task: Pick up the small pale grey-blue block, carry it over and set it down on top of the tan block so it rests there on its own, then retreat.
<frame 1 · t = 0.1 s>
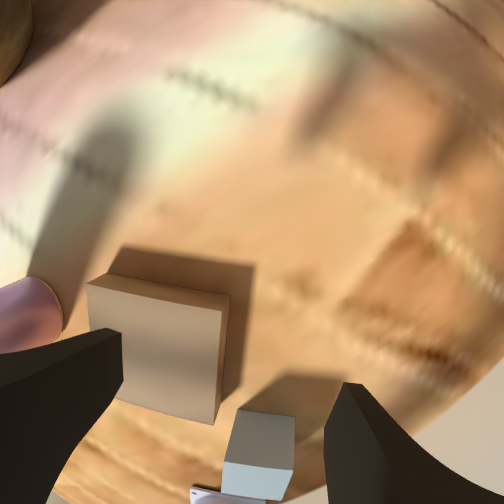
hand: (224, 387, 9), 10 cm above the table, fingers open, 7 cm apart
tan block: (165, 340, 21), on the table
pale grey-blue block: (262, 431, 21), on the table
beverage can: (44, 306, 21), on the table
bowl: (4, 57, 17), on the table
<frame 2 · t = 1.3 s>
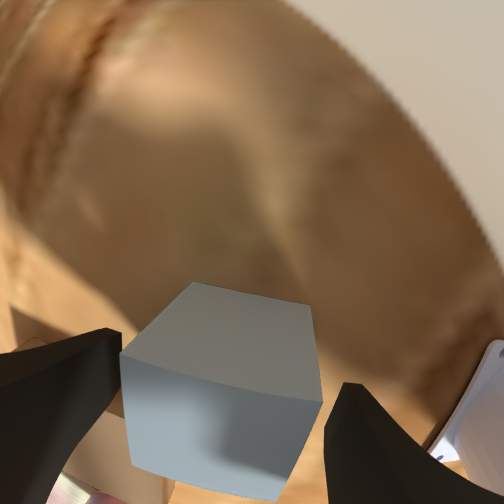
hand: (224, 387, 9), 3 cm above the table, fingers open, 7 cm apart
tan block: (106, 419, 14), on the table
pale grey-blue block: (241, 344, 11), on the table
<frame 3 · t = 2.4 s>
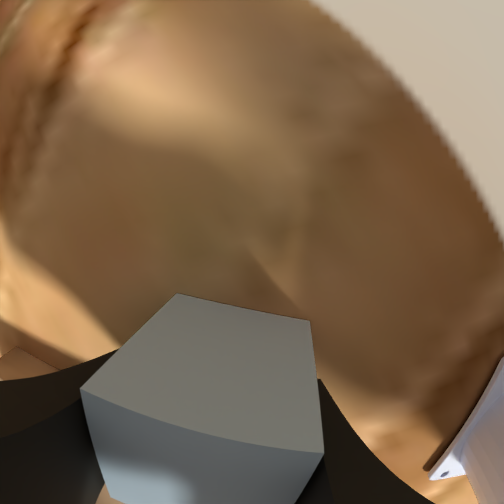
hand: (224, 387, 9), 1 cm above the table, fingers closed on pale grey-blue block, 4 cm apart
tan block: (93, 433, 13), on the table
pale grey-blue block: (232, 363, 10), on the table, touching gripper
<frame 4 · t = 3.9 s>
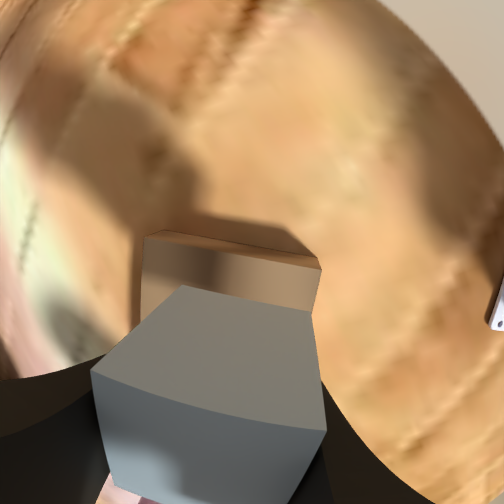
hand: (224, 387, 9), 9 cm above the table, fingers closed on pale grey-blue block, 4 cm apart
tan block: (228, 313, 18), on the table
pale grey-blue block: (234, 354, 10), point 7 cm above the table, touching gripper
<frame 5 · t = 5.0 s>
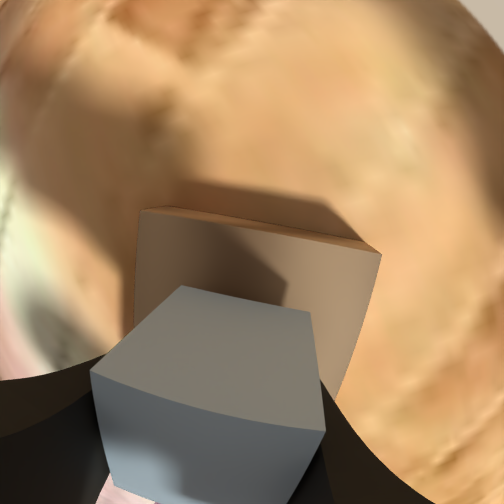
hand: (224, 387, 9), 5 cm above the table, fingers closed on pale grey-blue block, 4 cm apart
tan block: (248, 314, 14), on the table
pale grey-blue block: (234, 354, 10), point 4 cm above the table, touching gripper
when the fingers open (5 cm above the table, at t = 5.6 s): pale grey-blue block drops 1 cm, resting on tan block.
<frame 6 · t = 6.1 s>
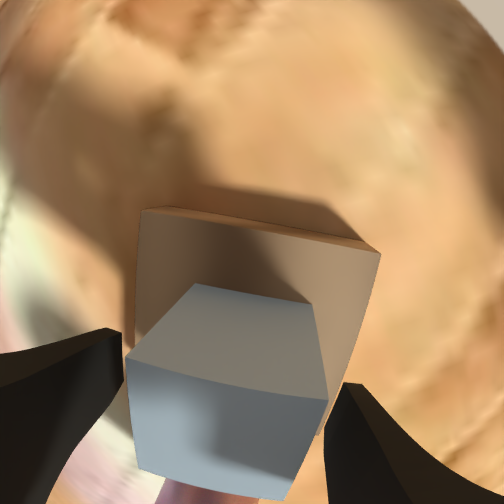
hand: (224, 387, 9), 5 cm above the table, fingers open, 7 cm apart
tan block: (248, 313, 14), on the table, touching pale grey-blue block
pale grey-blue block: (244, 345, 12), point 2 cm above the table, touching tan block
beverage can: (219, 464, 17), on the table
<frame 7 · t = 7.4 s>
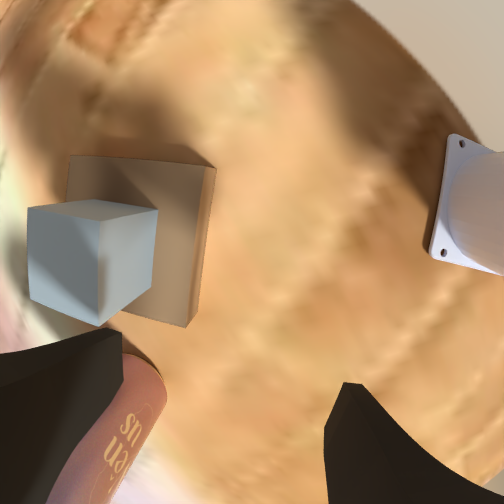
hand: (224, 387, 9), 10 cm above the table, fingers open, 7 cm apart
tan block: (143, 230, 19), on the table, touching pale grey-blue block
pale grey-blue block: (120, 242, 16), point 2 cm above the table, touching tan block
beverage can: (136, 379, 21), on the table
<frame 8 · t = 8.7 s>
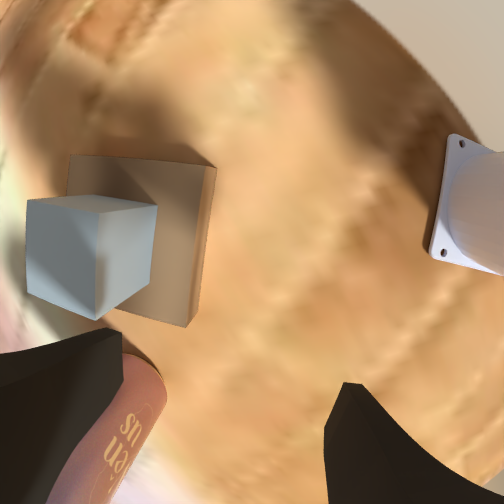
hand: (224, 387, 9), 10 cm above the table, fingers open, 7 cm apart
tan block: (143, 229, 19), on the table, touching pale grey-blue block
pale grey-blue block: (119, 237, 16), point 3 cm above the table, touching tan block
beverage can: (136, 379, 21), on the table
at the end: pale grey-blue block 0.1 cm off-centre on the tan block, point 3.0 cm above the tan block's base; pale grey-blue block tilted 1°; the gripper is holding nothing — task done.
